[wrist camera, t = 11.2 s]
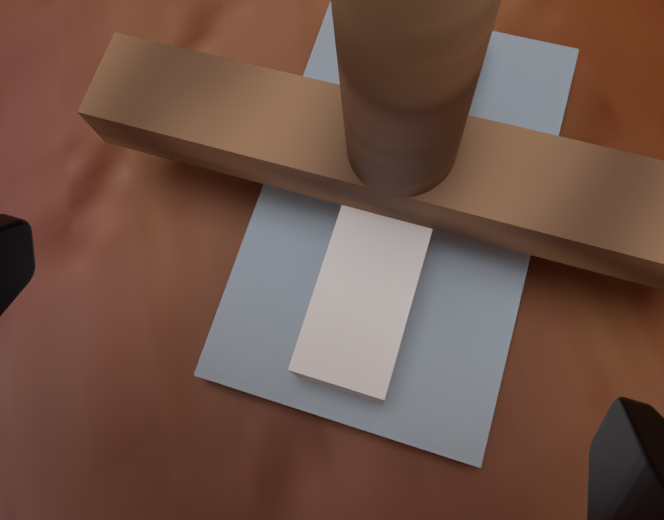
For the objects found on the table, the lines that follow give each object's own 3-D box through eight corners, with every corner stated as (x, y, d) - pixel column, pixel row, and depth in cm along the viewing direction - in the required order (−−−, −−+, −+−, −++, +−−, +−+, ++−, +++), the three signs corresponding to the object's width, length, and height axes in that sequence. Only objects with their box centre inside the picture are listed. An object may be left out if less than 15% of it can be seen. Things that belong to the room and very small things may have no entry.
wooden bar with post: (730, 208, 18) (1339, -178, 7) (715, 307, 17) (1377, 62, 6) (139, 66, 21) (-144, -370, 10) (104, 144, 20) (-249, -228, 9)
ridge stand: (473, 465, 20) (495, 473, 17) (205, 379, 22) (169, 367, 18) (567, 71, 24) (602, 4, 20) (334, 21, 26) (326, -51, 22)
